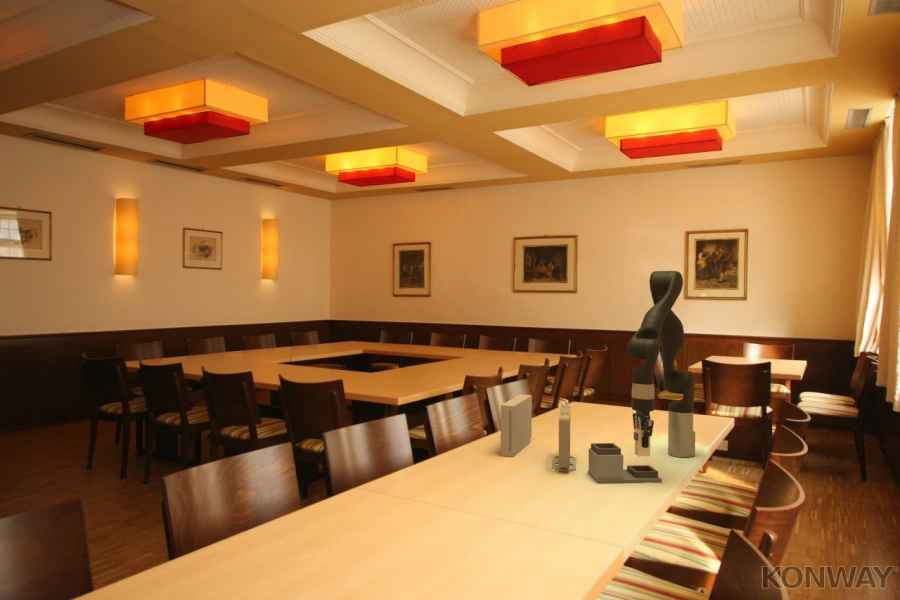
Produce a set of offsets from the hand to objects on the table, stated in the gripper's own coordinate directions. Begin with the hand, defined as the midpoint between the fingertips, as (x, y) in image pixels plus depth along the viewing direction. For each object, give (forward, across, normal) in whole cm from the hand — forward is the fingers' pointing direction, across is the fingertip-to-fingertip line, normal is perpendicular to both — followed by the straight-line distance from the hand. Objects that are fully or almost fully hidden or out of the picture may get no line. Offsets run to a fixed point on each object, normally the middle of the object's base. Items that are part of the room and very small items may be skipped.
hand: (642, 445), depth 215 cm
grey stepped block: (+11, 0, +6) cm, 13 cm away
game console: (+11, +41, +37) cm, 57 cm away
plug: (+3, 0, 0) cm, 3 cm away
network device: (+11, +18, +23) cm, 31 cm away
